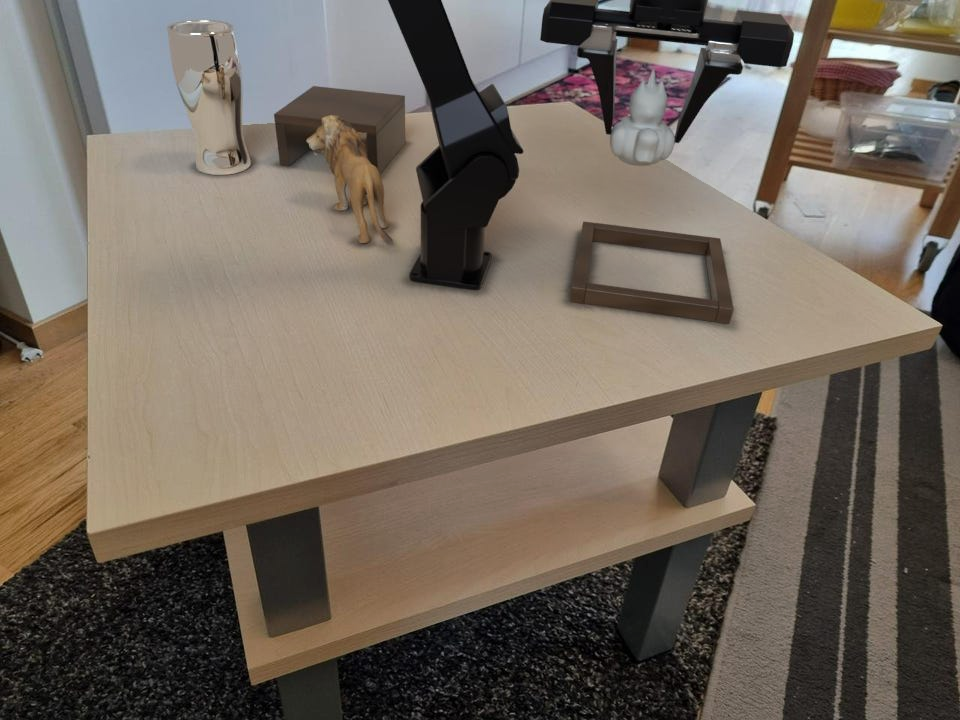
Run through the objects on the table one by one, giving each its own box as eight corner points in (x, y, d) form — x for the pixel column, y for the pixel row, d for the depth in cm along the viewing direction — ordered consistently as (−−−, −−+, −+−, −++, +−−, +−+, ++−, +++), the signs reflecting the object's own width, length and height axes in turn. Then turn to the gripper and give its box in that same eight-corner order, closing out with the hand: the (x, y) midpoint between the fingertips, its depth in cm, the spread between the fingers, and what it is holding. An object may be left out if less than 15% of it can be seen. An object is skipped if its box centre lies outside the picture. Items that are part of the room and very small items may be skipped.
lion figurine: (308, 197, 77) (299, 113, 72) (353, 188, 79) (348, 107, 74) (368, 254, 67) (363, 162, 62) (417, 242, 70) (417, 152, 64)
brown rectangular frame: (729, 324, 60) (733, 309, 60) (569, 302, 62) (571, 287, 61) (716, 251, 71) (720, 238, 70) (581, 234, 73) (583, 221, 72)
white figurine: (662, 154, 65) (682, 62, 60) (674, 182, 60) (697, 84, 55) (603, 150, 65) (618, 58, 60) (609, 177, 60) (626, 79, 55)
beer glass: (232, 180, 80) (208, 36, 71) (179, 170, 81) (149, 28, 72) (266, 160, 85) (248, 24, 76) (216, 151, 87) (193, 16, 78)
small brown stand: (377, 177, 82) (375, 125, 79) (279, 165, 84) (273, 114, 80) (405, 142, 92) (405, 95, 88) (317, 132, 93) (313, 85, 90)
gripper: (799, -74, 57) (745, 122, 66) (567, -93, 59) (546, 98, 69) (825, -60, 48) (758, 163, 57) (551, -83, 50) (529, 135, 60)
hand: (642, 137), depth 61 cm, fingers closed on white figurine, 5 cm apart
